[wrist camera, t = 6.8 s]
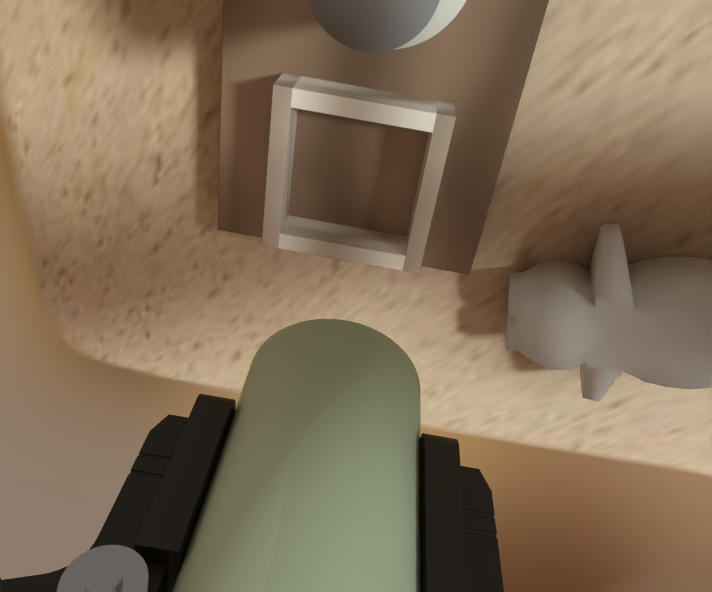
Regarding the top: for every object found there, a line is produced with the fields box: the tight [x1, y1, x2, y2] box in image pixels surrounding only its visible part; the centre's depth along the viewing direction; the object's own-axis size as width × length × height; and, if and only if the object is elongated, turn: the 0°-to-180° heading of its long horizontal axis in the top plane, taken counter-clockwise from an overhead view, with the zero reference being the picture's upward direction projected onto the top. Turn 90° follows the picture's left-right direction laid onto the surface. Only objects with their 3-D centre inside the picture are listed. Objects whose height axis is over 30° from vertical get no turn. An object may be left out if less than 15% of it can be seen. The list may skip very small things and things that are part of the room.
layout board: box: [218, 0, 549, 274], centre depth 24 cm, size 13×18×10 cm
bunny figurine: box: [506, 223, 712, 402], centre depth 31 cm, size 10×5×15 cm
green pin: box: [172, 319, 421, 592], centre depth 11 cm, size 4×4×8 cm
